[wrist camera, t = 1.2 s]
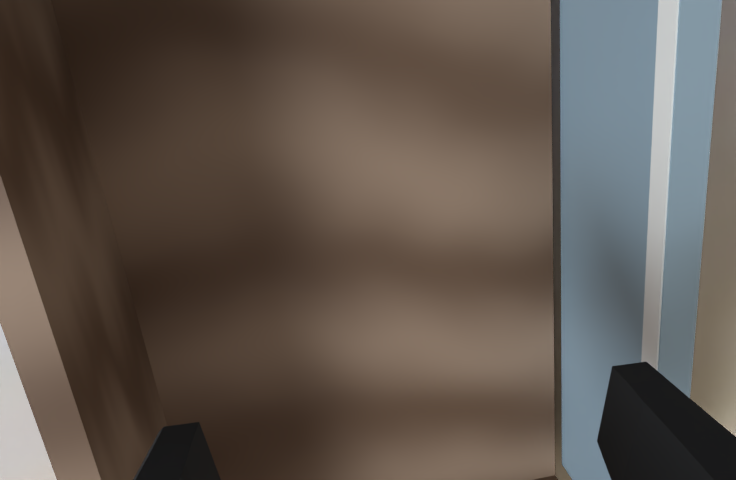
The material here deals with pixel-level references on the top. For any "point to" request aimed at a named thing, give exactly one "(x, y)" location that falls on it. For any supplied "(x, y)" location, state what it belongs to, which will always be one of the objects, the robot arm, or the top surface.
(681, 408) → the robot arm
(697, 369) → the top surface
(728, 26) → the top surface
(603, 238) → the tailgate
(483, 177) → the cart bed
